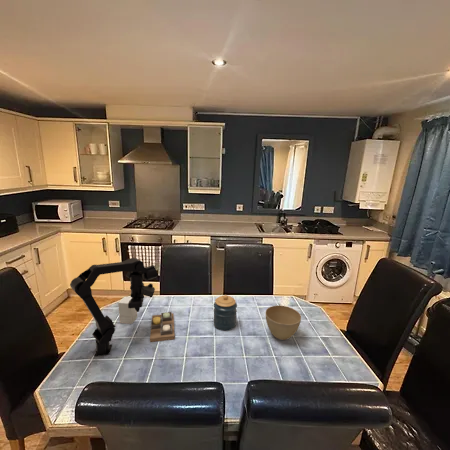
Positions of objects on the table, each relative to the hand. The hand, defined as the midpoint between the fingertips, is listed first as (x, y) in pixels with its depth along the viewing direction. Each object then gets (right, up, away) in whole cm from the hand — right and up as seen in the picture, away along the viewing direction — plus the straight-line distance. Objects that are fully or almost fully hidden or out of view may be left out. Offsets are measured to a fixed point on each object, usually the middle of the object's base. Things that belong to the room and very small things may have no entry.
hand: (138, 311), depth 129 cm
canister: (+44, -12, +13) cm, 48 cm away
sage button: (+11, -8, +13) cm, 20 cm away
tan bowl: (+74, -14, +4) cm, 76 cm away
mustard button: (+8, -8, +6) cm, 13 cm away
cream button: (+14, -11, +2) cm, 18 cm away
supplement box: (-10, -10, +15) cm, 21 cm away
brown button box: (+11, -12, +8) cm, 18 cm away
